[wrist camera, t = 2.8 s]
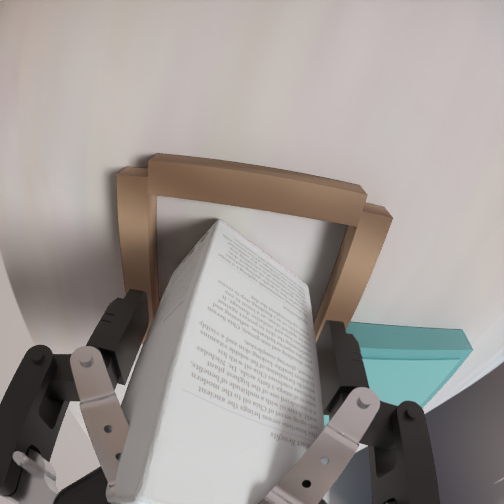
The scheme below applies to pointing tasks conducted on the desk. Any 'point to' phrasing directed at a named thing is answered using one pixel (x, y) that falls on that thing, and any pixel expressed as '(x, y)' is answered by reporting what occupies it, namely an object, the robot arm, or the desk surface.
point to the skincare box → (221, 381)
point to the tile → (408, 360)
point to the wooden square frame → (256, 197)
